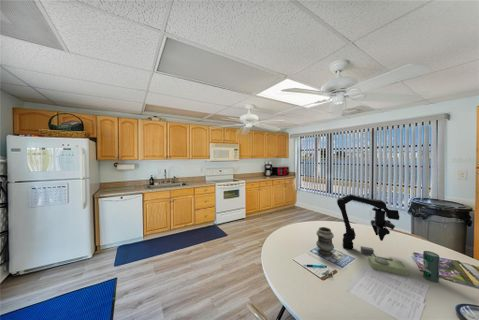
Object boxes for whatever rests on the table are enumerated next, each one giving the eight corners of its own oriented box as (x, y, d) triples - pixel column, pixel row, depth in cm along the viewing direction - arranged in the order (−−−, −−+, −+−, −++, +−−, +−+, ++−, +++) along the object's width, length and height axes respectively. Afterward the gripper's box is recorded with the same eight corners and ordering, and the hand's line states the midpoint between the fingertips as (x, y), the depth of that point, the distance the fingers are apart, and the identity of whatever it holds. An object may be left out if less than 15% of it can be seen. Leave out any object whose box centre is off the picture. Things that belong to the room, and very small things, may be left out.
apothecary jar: (315, 254, 127) (315, 230, 127) (316, 246, 138) (316, 224, 138) (334, 258, 121) (334, 233, 121) (333, 250, 132) (333, 227, 132)
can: (422, 273, 105) (422, 249, 105) (437, 278, 101) (437, 253, 101) (424, 279, 100) (424, 254, 100) (440, 284, 96) (440, 257, 96)
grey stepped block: (362, 254, 127) (362, 248, 127) (360, 250, 132) (360, 245, 132) (373, 256, 125) (373, 250, 125) (371, 252, 129) (371, 246, 129)
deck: (372, 268, 111) (372, 261, 110) (365, 256, 124) (365, 250, 124) (408, 275, 103) (408, 268, 103) (397, 262, 117) (397, 256, 117)
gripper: (399, 223, 115) (398, 246, 115) (388, 215, 132) (387, 234, 132) (379, 220, 119) (378, 242, 119) (370, 212, 136) (370, 232, 137)
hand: (379, 237), depth 127 cm, fingers open, 9 cm apart
